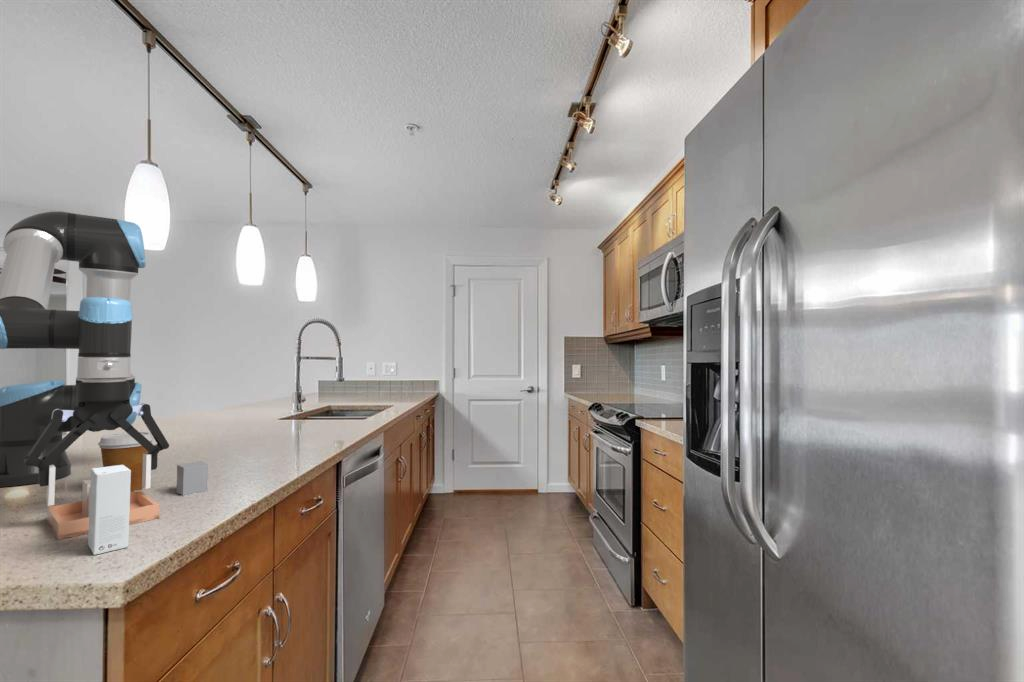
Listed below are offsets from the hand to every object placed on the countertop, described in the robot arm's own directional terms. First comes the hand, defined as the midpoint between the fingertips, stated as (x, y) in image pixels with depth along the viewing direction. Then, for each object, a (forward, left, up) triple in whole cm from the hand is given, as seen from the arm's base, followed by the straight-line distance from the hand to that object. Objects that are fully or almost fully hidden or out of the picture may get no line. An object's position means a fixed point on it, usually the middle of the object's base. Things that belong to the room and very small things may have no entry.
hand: (101, 495), depth 87 cm
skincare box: (+19, -2, -4) cm, 20 cm away
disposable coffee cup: (-18, +7, -4) cm, 20 cm away
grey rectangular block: (-5, +16, -4) cm, 17 cm away
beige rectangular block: (0, 0, -3) cm, 3 cm away
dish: (+3, 0, -4) cm, 5 cm away
